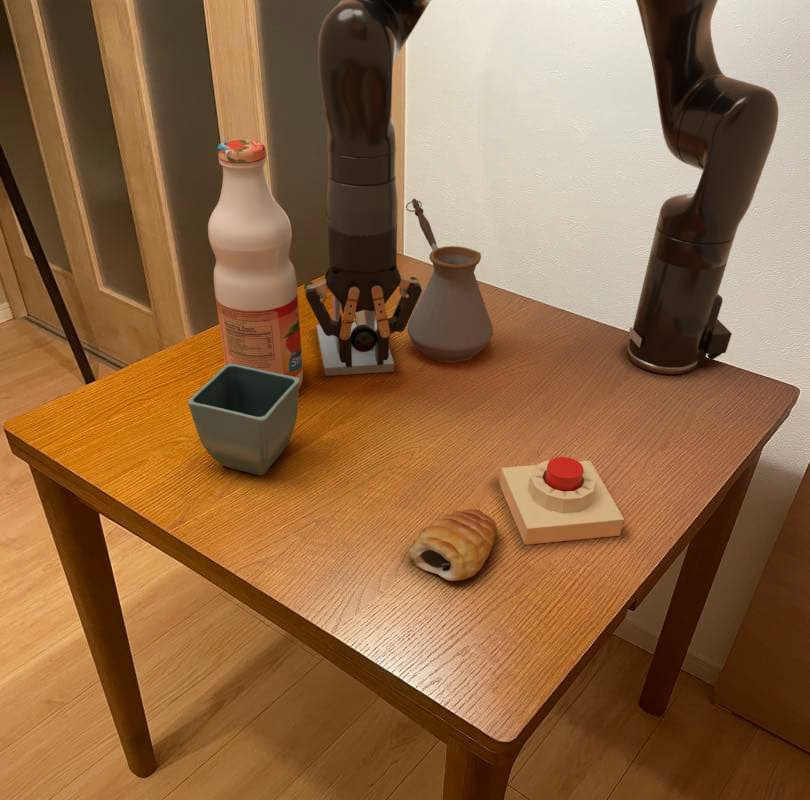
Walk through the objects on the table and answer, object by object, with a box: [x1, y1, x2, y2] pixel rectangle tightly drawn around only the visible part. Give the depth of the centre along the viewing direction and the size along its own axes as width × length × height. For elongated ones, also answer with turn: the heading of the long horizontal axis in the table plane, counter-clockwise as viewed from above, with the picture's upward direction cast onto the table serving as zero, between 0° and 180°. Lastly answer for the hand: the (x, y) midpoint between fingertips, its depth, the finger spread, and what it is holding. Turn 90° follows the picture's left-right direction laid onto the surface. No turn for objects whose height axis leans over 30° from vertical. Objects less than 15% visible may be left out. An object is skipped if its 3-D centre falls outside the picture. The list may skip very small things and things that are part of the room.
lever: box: [350, 310, 377, 352], centre depth 97 cm, size 14×3×3 cm, turn 10°
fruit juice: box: [207, 138, 304, 389], centre depth 91 cm, size 9×9×28 cm
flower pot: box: [187, 364, 300, 476], centre depth 86 cm, size 9×9×9 cm
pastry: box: [408, 508, 498, 582], centre depth 77 cm, size 9×7×4 cm
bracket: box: [316, 293, 395, 377], centre depth 103 cm, size 12×9×13 cm
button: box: [545, 456, 584, 492], centre depth 80 cm, size 4×4×2 cm
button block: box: [498, 459, 625, 546], centre depth 82 cm, size 10×10×4 cm
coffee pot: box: [405, 198, 494, 363], centre depth 107 cm, size 21×12×15 cm, turn 20°
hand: (363, 362), depth 97 cm, fingers closed on lever, 3 cm apart
